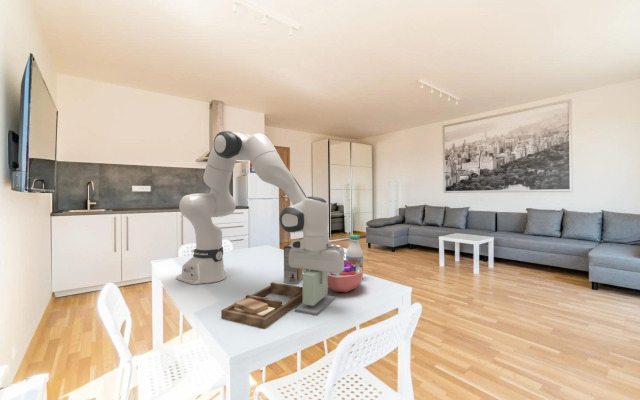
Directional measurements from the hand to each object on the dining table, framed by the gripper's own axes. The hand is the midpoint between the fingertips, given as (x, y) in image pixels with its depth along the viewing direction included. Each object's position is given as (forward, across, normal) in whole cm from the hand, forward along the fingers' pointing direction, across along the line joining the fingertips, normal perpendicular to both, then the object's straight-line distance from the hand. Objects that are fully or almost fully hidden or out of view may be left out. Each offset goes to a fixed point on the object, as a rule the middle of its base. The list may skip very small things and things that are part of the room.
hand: (315, 282), depth 99 cm
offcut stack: (+8, +14, +17) cm, 23 cm away
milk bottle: (+8, -3, -35) cm, 36 cm away
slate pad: (+8, 0, 0) cm, 8 cm away
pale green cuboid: (+6, 0, 0) cm, 6 cm away
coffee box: (+8, +21, -21) cm, 31 cm away
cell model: (+8, -3, -19) cm, 21 cm away
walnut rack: (+8, +14, +9) cm, 18 cm away
